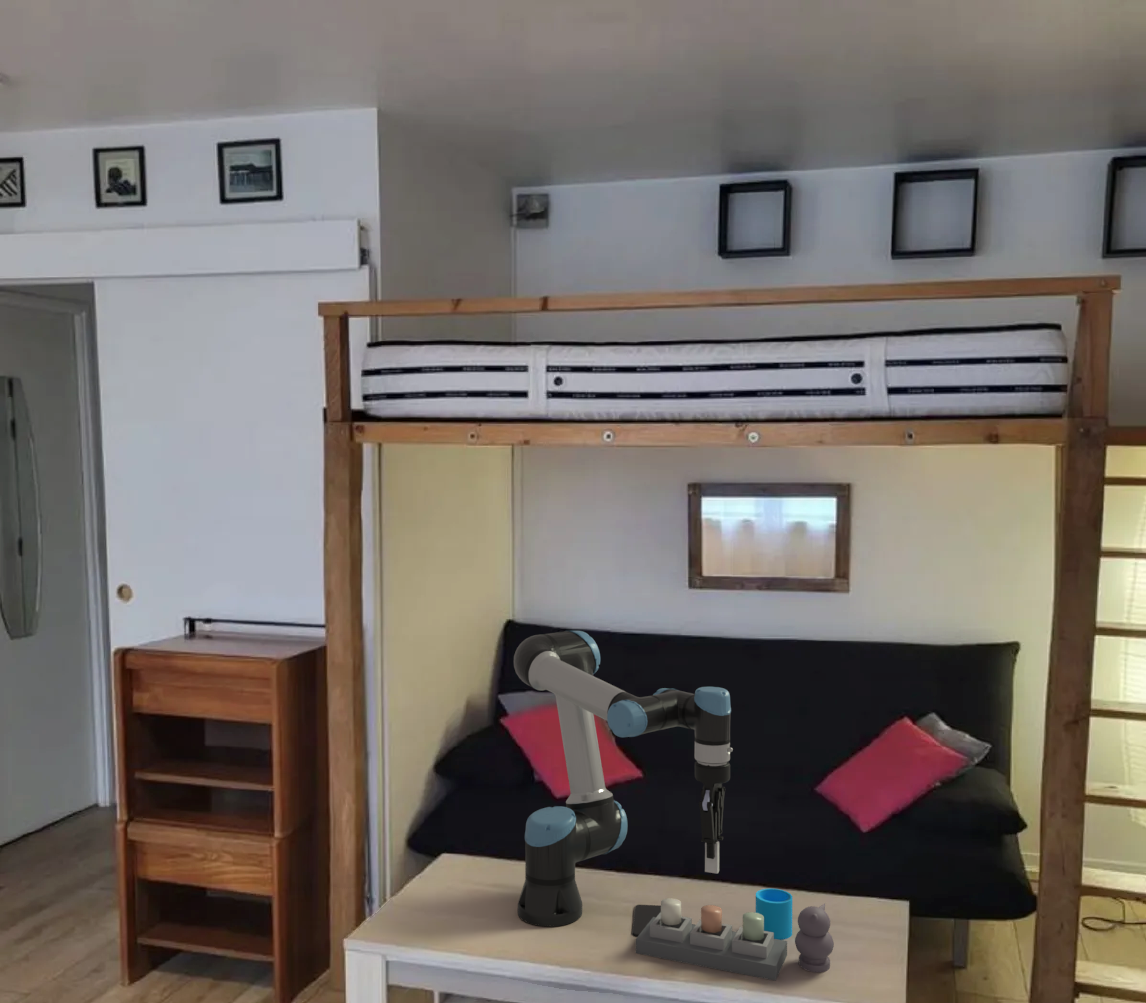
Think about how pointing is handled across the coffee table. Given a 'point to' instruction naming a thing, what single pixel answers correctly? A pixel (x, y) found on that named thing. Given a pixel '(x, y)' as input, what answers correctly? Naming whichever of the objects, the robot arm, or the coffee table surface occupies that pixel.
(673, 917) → the ivory button
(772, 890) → the mug
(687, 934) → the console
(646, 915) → the smartphone
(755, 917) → the sage button
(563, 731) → the robot arm
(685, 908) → the coffee table surface
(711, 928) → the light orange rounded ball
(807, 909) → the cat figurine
